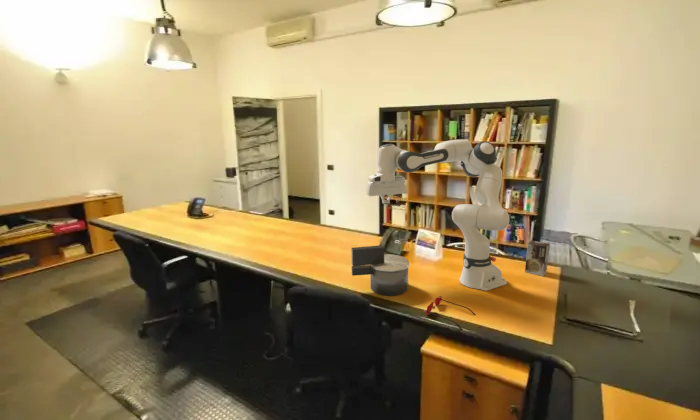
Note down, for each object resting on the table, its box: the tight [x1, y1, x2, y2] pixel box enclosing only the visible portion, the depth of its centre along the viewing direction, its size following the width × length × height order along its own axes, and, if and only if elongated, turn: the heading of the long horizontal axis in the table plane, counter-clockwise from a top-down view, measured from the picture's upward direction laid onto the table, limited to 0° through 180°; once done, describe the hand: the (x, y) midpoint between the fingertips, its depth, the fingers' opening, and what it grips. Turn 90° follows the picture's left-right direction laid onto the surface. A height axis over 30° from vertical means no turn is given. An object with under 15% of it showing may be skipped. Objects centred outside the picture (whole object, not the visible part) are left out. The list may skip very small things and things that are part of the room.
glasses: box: [424, 295, 477, 331], centre depth 142 cm, size 14×16×5 cm
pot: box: [351, 265, 409, 297], centre depth 165 cm, size 27×18×12 cm, turn 96°
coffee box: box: [524, 239, 551, 277], centre depth 179 cm, size 9×6×16 cm
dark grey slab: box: [351, 244, 410, 272], centre depth 163 cm, size 27×19×9 cm
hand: (386, 203), depth 178 cm, fingers closed
